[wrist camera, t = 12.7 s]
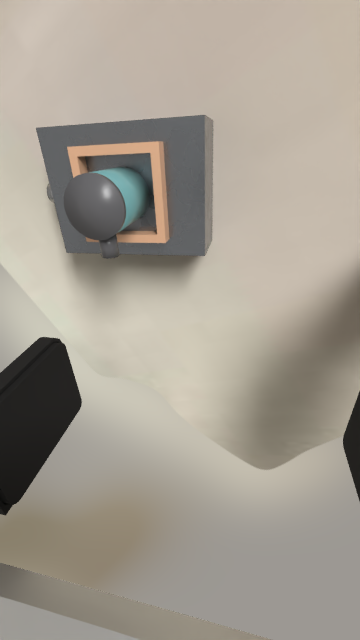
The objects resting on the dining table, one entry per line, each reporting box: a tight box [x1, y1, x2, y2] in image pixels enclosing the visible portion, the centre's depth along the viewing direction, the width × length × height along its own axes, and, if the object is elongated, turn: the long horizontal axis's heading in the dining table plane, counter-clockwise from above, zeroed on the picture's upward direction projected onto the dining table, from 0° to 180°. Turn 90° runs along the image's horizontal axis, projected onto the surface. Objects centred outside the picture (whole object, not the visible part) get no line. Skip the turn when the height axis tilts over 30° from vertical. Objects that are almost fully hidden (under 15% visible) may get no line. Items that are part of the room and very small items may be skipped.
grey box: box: [36, 115, 213, 256], centre depth 31 cm, size 18×12×8 cm, turn 92°
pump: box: [64, 167, 150, 258], centre depth 26 cm, size 5×7×7 cm
